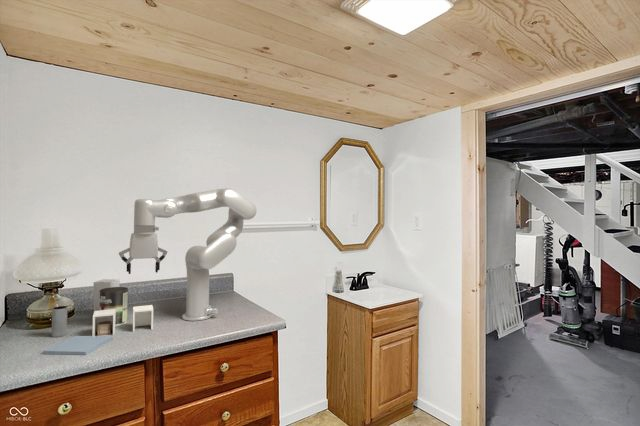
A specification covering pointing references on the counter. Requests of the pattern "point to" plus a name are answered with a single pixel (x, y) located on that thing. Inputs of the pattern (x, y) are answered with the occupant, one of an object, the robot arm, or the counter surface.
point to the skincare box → (102, 285)
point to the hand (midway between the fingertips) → (143, 272)
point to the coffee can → (115, 302)
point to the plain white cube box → (142, 316)
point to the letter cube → (104, 328)
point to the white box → (104, 319)
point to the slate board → (78, 345)
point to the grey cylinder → (59, 321)
